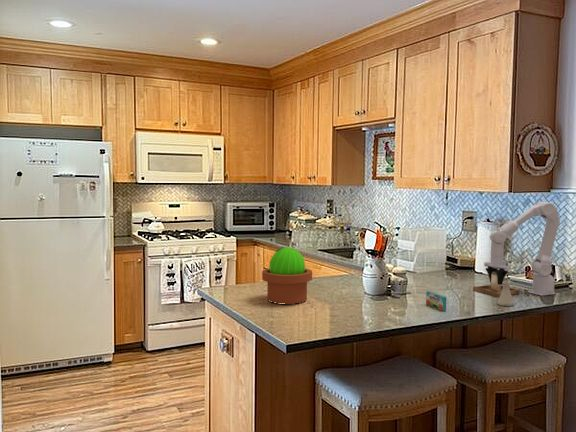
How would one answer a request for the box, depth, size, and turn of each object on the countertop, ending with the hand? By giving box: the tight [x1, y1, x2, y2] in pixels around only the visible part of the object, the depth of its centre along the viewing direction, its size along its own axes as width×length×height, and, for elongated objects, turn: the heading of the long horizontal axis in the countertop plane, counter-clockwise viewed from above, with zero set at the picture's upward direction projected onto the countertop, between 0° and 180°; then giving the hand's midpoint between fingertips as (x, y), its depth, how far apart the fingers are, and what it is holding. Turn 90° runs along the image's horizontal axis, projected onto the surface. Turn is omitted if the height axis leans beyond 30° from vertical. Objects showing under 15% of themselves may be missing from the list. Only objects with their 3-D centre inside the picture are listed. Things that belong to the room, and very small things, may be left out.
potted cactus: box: [261, 246, 313, 305], centre depth 232 cm, size 22×22×25 cm
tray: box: [473, 284, 520, 298], centre depth 250 cm, size 15×15×2 cm
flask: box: [496, 281, 515, 307], centre depth 226 cm, size 7×7×10 cm
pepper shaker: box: [490, 271, 502, 289], centre depth 249 cm, size 4×4×8 cm
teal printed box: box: [425, 290, 447, 312], centre depth 220 cm, size 12×2×6 cm, turn 20°
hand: (496, 283), depth 249 cm, fingers closed on pepper shaker, 4 cm apart
